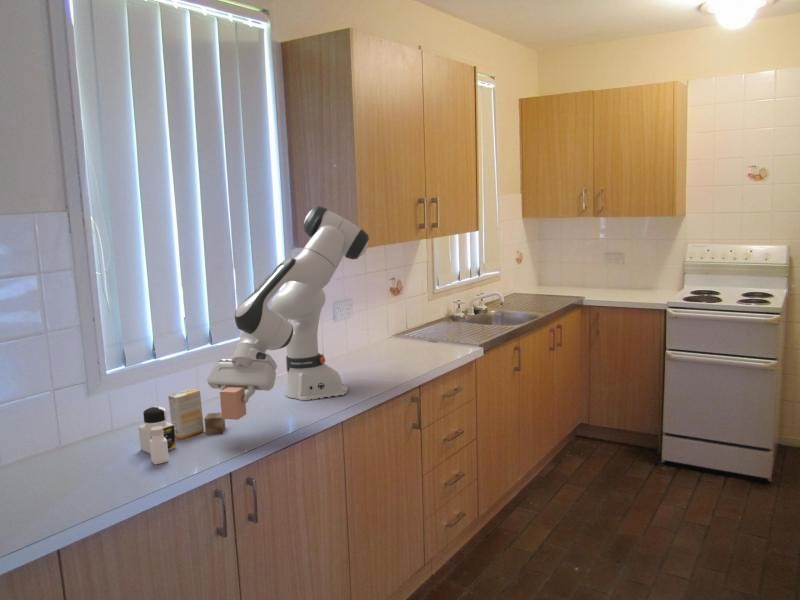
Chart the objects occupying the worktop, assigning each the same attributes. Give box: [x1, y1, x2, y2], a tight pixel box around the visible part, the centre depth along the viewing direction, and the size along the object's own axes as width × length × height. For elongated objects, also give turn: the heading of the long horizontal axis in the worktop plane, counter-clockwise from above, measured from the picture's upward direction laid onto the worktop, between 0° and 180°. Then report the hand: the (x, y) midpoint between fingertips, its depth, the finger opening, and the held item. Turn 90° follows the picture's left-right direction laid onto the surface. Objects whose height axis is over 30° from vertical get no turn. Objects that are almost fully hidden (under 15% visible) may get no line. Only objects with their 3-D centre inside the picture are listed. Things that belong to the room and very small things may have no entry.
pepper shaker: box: [149, 426, 170, 465], centre depth 176 cm, size 4×4×10 cm
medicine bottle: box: [138, 406, 177, 455], centre depth 186 cm, size 7×7×12 cm
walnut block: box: [203, 412, 226, 435], centre depth 199 cm, size 5×5×5 cm
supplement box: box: [167, 388, 205, 440], centre depth 197 cm, size 8×5×13 cm, turn 141°
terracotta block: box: [219, 387, 247, 421], centre depth 187 cm, size 5×5×8 cm
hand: (233, 401), depth 187 cm, fingers closed on terracotta block, 5 cm apart
